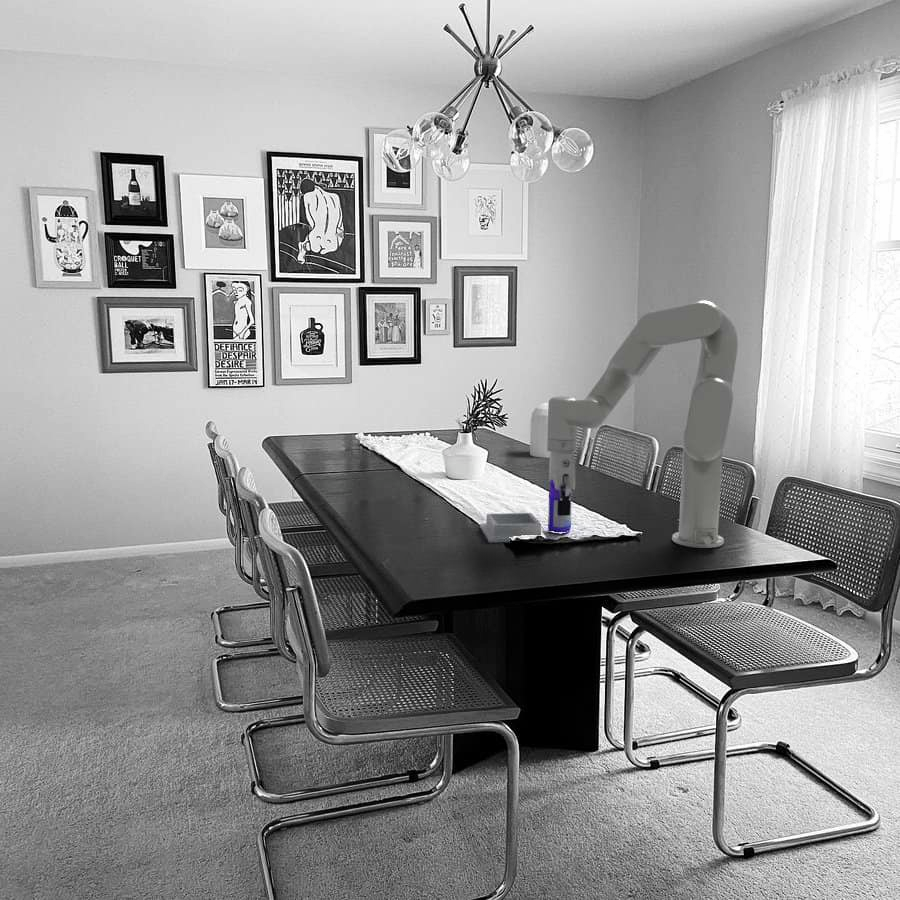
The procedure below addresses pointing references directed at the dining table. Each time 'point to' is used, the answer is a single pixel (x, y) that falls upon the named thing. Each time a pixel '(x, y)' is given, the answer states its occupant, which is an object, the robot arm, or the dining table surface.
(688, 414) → the robot arm
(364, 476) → the dining table surface
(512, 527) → the shallow grey tray
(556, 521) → the bottle
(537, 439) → the container
